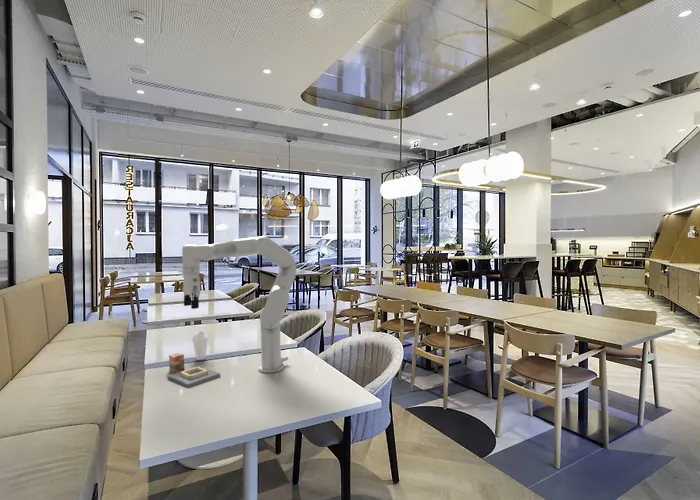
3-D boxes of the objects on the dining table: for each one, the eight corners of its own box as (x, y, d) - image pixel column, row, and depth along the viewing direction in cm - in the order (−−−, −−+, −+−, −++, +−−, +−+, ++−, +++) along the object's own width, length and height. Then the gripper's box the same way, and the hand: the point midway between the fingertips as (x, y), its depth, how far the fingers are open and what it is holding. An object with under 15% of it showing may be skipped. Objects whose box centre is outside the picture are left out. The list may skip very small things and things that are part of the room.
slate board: (199, 368, 191) (199, 362, 191) (220, 376, 180) (220, 370, 180) (168, 378, 178) (167, 372, 178) (188, 387, 167) (187, 380, 167)
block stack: (179, 368, 192) (178, 352, 192) (184, 370, 189) (183, 354, 189) (169, 371, 188) (169, 355, 188) (174, 373, 185) (174, 357, 185)
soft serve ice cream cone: (189, 360, 204) (188, 331, 204) (200, 355, 212) (199, 327, 211) (201, 362, 201) (200, 332, 200) (212, 357, 209) (211, 328, 208)
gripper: (206, 271, 175) (206, 308, 176) (192, 269, 188) (192, 303, 189) (189, 272, 170) (189, 310, 171) (176, 270, 183) (176, 305, 184)
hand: (191, 306), depth 180 cm, fingers open, 9 cm apart
